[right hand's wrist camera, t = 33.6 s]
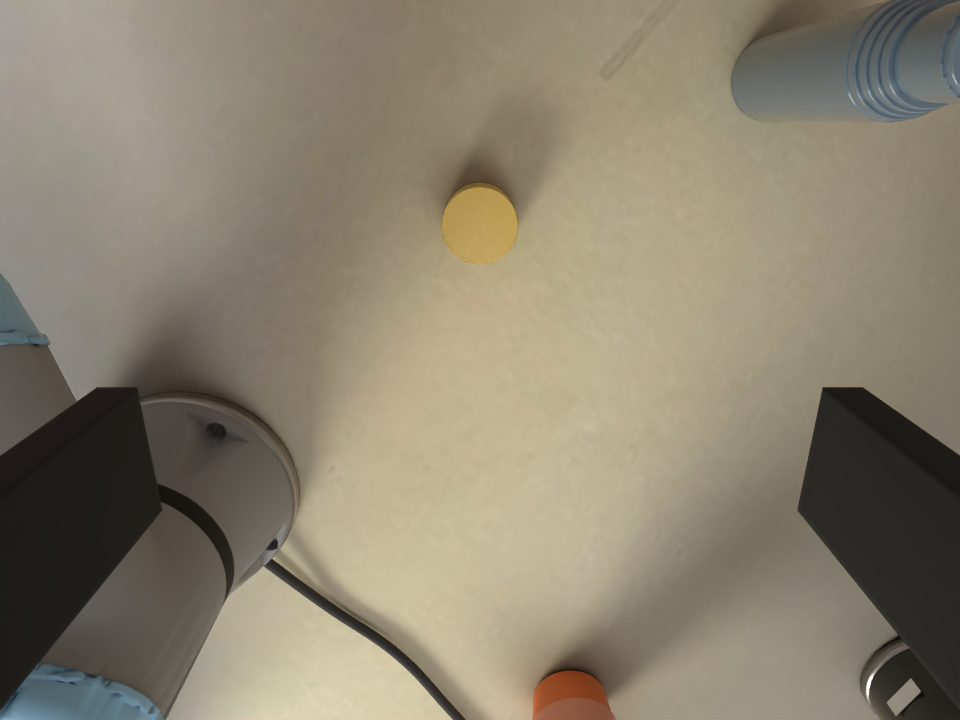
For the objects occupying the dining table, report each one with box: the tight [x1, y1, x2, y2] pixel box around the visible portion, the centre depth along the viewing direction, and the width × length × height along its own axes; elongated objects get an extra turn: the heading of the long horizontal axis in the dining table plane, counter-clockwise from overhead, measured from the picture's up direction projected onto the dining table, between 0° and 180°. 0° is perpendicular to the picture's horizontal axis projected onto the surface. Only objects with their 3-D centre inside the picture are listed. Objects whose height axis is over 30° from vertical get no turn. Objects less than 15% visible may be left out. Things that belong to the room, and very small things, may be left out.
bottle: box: [731, 0, 960, 122], centre depth 29 cm, size 5×5×18 cm
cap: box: [442, 183, 518, 264], centre depth 40 cm, size 5×5×3 cm
